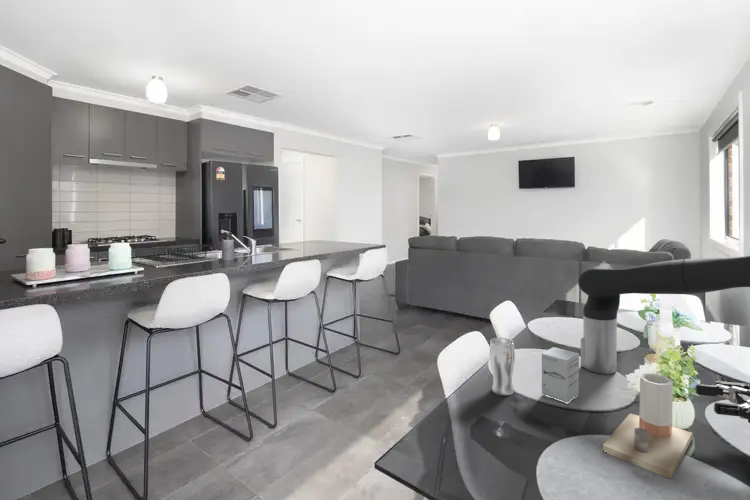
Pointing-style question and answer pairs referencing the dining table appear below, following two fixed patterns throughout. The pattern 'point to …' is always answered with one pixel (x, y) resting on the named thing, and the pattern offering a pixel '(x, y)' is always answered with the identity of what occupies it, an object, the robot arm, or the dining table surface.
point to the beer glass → (502, 365)
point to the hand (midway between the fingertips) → (705, 398)
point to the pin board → (648, 447)
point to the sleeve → (656, 404)
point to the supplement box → (560, 374)
